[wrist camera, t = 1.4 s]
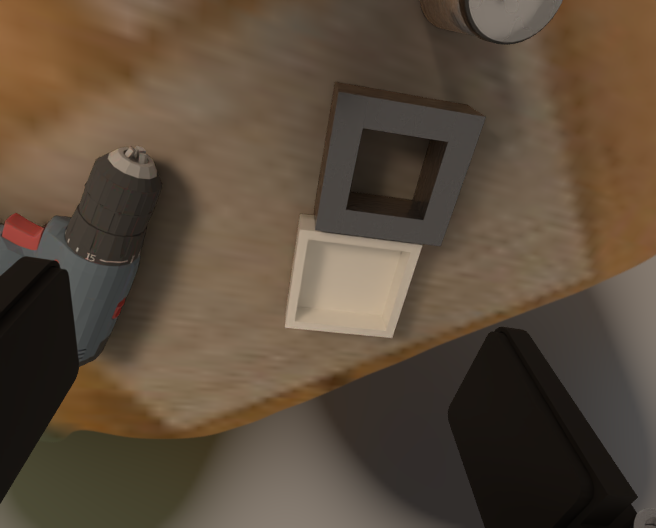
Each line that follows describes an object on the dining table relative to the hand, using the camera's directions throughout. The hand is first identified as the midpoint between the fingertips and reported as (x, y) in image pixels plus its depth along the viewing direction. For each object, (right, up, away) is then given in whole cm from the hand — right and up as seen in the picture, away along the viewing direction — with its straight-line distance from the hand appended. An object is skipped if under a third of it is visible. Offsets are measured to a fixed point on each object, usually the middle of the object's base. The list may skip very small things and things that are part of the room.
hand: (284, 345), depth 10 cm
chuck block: (+5, +9, +20) cm, 23 cm away
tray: (+3, +1, +25) cm, 25 cm away
